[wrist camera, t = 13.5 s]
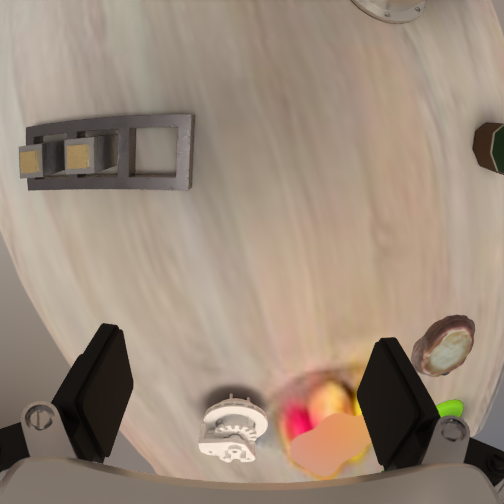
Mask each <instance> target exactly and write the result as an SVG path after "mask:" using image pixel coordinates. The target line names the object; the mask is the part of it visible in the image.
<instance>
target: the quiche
mask: <svg viewBox="0 0 504 504" xmlns="http://www.w3.org/2000/svg"><path fill="white" fill-rule="evenodd" d="M474 332H475V324H474V322H473V320H470V319H468V317H467V316H465V315H462V316H461V315H454V316H447V317H445V318H444V319H442V320H439V321H437V322H435V323H434V324H433V325H432V326H431V327H430V328H429V329H428V330H427V332H426V333H425V335H424V336H423V337H422V338H421V339H419V340H418V341H417V342H416V343H415V345H414V347H413V351H412V356H411V362H412V365H413V367H414V369H415V370H416V372H419V373H420V374H425V375H428V376H431V377H438V376H440V375H447V374H449V373H450V372H451V371H452V370H454V369H456V368H457V367H459V366H461V365H462V364H463V363H464V361H465V359H466V357H467V355H468V354H469V353H470V351H471V349H472V346H473V343H474Z"/></svg>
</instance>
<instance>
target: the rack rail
mask: <svg viewBox="0 0 504 504" xmlns="http://www.w3.org/2000/svg"><path fill="white" fill-rule="evenodd" d="M194 122H195V115H192V114H166V115H135V116H118V117H105V118H93V119H83V120H74V121H66V122H58V123H51V124H44V125H38V126H32V127H26V146H27V145H32V144H38V143H43V136H44V135H52V134H60V133H67V140H68V139H75V138H83V137H85V131H91V130H104V129H118V174H98V175H86V174H68V175H66V176H45V177H35V178H27V183H28V191H29V190H61V189H150V190H185V191H188V190H189V189H190V188H191V187H192V163H193V140H194ZM147 127H178V136H177V163H176V175H167V174H135V148H136V128H147Z"/></svg>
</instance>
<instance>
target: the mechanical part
mask: <svg viewBox="0 0 504 504" xmlns="http://www.w3.org/2000/svg"><path fill="white" fill-rule="evenodd" d="M267 425H268V423H267V415H266V414H265V412H264V411H263V410H262V409H261V408H259V407H258V406H256V405H253V404H252V403H251V402H250V398H249V397H247V400H244V399H238V398H233V394H232V393H230V399H226V400H223V401H221V402H220V403H218V404H215V405H213V406H211V407H210V408H209V409H208V410H207V411H206V413H205V415H204V424H202V423H201V428H200V436H199V448H200V451H201V452H203V453H205V454H208V455H218V456H219V459H221V460H223V461H226V462H231V460H233V459H234V458H235V459H241V462H251V461H254V460H255V458H256V452H255V442H254V441H256V438H257V437H259V436H261V435H262V434H263V433H264V432H265V431H266V429H267Z"/></svg>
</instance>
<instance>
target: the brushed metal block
mask: <svg viewBox="0 0 504 504" xmlns="http://www.w3.org/2000/svg"><path fill="white" fill-rule="evenodd" d="M117 165H118V135H107V136H92V137H83V138H75V139H68V140H65V174H91V173H97V172H100V171H102V170H105V169H108V168H111V167H114V166H117Z"/></svg>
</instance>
